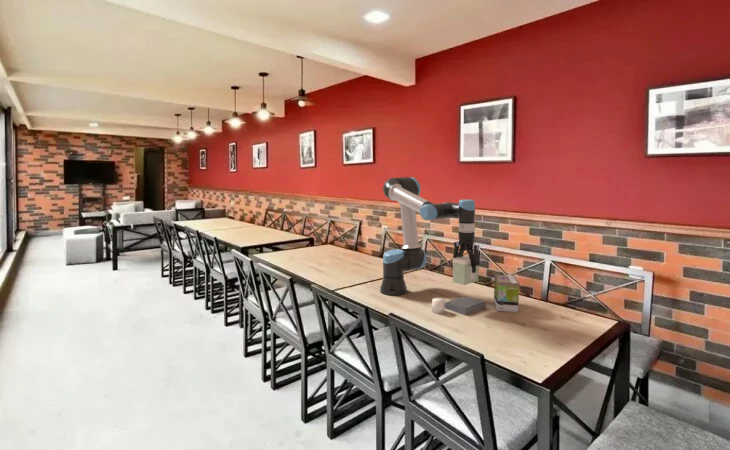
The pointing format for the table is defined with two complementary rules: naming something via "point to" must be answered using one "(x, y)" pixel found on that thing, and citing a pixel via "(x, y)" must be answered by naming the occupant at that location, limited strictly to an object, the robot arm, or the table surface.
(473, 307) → the podium
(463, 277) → the carton
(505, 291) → the tea box
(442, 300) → the cream rounded domed part
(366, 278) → the table surface
